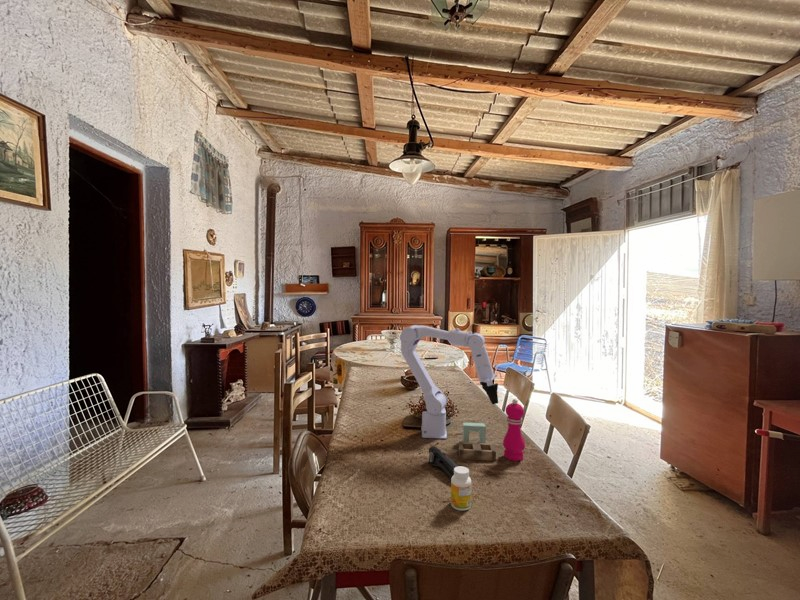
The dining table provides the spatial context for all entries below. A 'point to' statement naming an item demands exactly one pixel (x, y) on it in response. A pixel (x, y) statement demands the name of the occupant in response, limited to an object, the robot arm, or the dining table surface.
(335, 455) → the dining table surface
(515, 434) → the pepper mill
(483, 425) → the mint green foam block
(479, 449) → the brown wooden frame
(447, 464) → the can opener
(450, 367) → the dining table surface
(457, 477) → the supplement bottle
